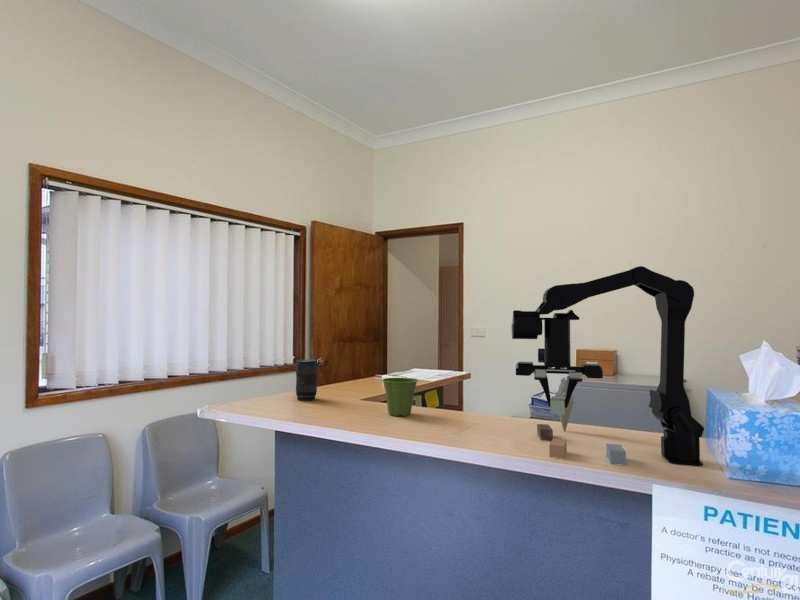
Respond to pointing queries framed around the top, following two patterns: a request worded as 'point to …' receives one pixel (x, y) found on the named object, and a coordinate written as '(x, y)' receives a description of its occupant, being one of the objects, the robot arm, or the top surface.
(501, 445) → the top surface
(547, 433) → the walnut brick
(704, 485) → the top surface
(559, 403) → the green brick
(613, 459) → the slate brick
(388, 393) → the plant pot
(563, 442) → the terracotta brick
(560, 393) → the ice cream cone
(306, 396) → the camera lens
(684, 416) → the robot arm
